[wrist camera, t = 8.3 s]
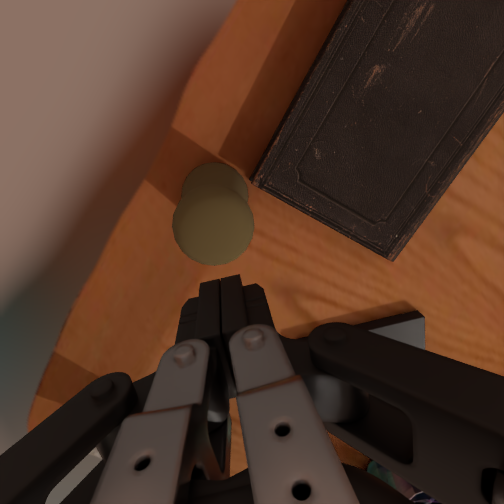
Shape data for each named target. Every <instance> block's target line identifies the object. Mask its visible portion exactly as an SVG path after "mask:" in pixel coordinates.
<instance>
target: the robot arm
mask: <svg viewBox="0 0 504 504" xmlns="http://www.w3.org/2000/svg"><path fill="white" fill-rule="evenodd" d="M368 393H369V394H368ZM370 394H371V395H370ZM372 395H373V396H372ZM235 397H236V400H237V406H238V411H239V417H240V423H241V429H242V435H243V440H244V446H245V452H246V458H247V464H248V468H247V469H245V470H243V471H241V472H239V473H237V474H235V475H234V476H232V477H230V454H231V425H232V422H231V417H230V413H229V408H230V406H229V399H230V398H235ZM379 398H380V399H379ZM381 399H382V400H381ZM383 400H384V401H383ZM385 401H386V402H385ZM387 402H388V403H387ZM389 403H390V404H389ZM391 404H392V405H391ZM393 405H394V406H393ZM395 406H396V407H395ZM397 407H398V408H397ZM326 430H327V431H328V432H330V433H331V434H333V435H334V436H336V437H337V438H339V439H340V440H342V441H344V442H345V443H347V444H348V445H350V446H352V447H353V448H355V449H356V450H358V451H359V452H361V453H363V454H364V455H366V456H367V457H369V458H370V459H372V460H374V461H375V462H377V463H378V464H380V465H382V466H383V467H385V468H386V469H388V470H389V471H391V472H393V473H394V474H396V475H397V476H399V477H400V478H402V479H404V480H405V481H407V482H408V483H410V484H412V485H413V486H415V487H416V488H418V489H419V490H421V491H423V492H424V493H426V494H427V495H429V496H430V497H432V498H434V499H435V500H437V501H438V502H440V503H442V504H504V376H501V375H498V374H495V373H492V372H489V371H486V370H483V369H480V368H477V367H474V366H471V365H468V364H465V363H462V362H459V361H456V360H453V359H450V358H447V357H444V356H441V355H439V354H436V353H433V352H430V351H427V350H424V349H421V348H418V347H415V346H412V345H409V344H406V343H403V342H400V341H397V340H394V339H391V338H388V337H385V336H382V335H379V334H376V333H373V332H370V331H367V330H364V329H361V328H358V327H355V326H352V325H350V324H346V323H339V322H334V323H327V324H323V325H320V326H318V327H316V328H315V329H314V330H313V331H312V332H311V333H310V334H309V337H308V340H296V339H290V338H286V337H284V336H282V335H280V334H279V333H278V332H277V331H276V329H275V327H274V324H273V320H272V317H271V313H270V310H269V306H268V303H267V299H266V296H265V293H264V289H263V288H262V287H260V286H259V285H258V284H256V283H255V284H251V285H247V286H243V285H242V281H241V277H240V274H238V275H233V276H229V277H225V278H221V281H220V279H216V280H212V281H207V282H203V283H200V289H199V297H195V298H191V299H188V301H187V302H186V303H185V304H184V306H183V307H182V310H181V315H180V320H179V325H178V330H177V336H176V341H175V345H174V346H172V347H171V348H169V349H168V350H167V351H166V352H165V353H164V354H163V356H162V357H161V360H160V363H159V365H158V368H157V371H156V372H154V373H152V374H150V375H148V376H146V377H144V378H142V379H140V380H138V381H135V382H133V383H132V381H131V378H130V376H129V375H128V374H126V373H123V372H115V373H110V374H107V375H104V376H102V377H100V378H98V379H96V380H94V381H93V382H91V383H90V384H89V385H87V386H86V387H85V388H84V389H82V390H81V391H80V392H79V393H78V394H76V395H75V396H74V397H73V398H71V399H70V400H69V401H68V402H66V403H65V404H64V405H63V406H61V407H60V408H59V409H58V410H56V411H55V412H54V413H53V414H51V415H50V416H49V417H48V418H46V419H45V420H44V421H43V422H41V423H40V424H39V425H38V426H36V427H35V428H34V429H33V430H31V431H30V432H29V433H28V434H27V435H25V436H24V437H23V438H22V439H21V440H19V441H18V442H17V443H15V444H14V445H13V446H12V447H10V448H9V449H8V450H7V451H5V452H4V453H3V454H2V455H0V504H45V502H46V499H47V497H48V495H49V494H50V492H51V491H52V489H53V488H54V487H55V486H56V485H57V484H58V483H59V482H60V481H61V480H62V479H63V478H64V477H65V476H66V475H67V474H68V473H69V472H70V471H71V470H72V469H73V468H74V467H75V466H76V465H77V464H78V463H79V462H80V461H81V460H82V459H84V457H85V456H87V455H88V454H89V453H90V452H91V451H92V450H93V449H94V448H95V447H96V448H97V450H98V451H99V453H100V455H101V457H102V461H101V462H100V463H99V464H98V465H97V466H96V467H95V468H94V469H93V470H92V471H91V472H90V473H89V474H88V475H87V476H86V477H85V478H84V479H83V480H82V481H81V482H80V483H79V484H78V485H77V487H75V488H74V489H73V491H71V493H70V494H69V495H68V496H67V497H66V498H65V499H64V500H63V501H62V502H61V503H60V504H416V503H414V502H413V501H411V500H410V499H408V498H407V497H406V496H404V495H403V494H401V493H400V492H399V491H397V490H396V489H394V488H393V487H392V486H390V485H389V484H387V483H386V482H384V481H383V480H381V479H380V478H378V477H376V476H374V475H372V474H370V473H369V472H367V471H364V470H362V469H360V468H357V467H355V466H351V465H348V464H344V463H341V462H340V459H339V457H338V455H337V453H336V451H335V448H334V446H333V444H332V442H331V440H330V437H329V435H328V433H327V431H326Z"/></svg>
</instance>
